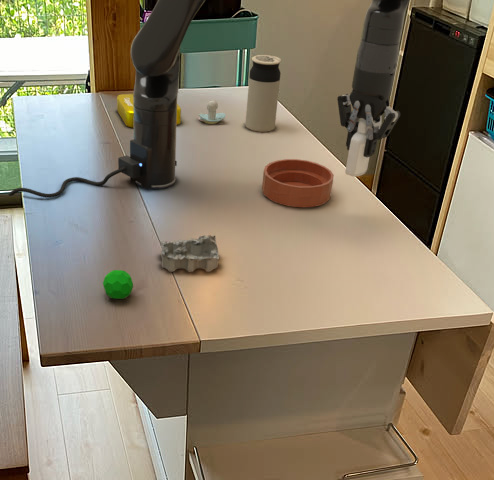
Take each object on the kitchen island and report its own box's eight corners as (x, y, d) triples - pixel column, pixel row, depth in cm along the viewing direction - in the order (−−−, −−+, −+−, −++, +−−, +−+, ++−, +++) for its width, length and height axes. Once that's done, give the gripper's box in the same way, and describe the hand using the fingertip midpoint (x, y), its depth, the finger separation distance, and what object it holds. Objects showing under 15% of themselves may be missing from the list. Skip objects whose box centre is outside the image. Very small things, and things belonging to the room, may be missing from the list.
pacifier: (194, 118, 195) (200, 125, 190) (195, 95, 192) (201, 102, 187) (220, 117, 197) (226, 124, 192) (221, 94, 193) (228, 101, 189)
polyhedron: (123, 285, 123) (122, 261, 121) (138, 298, 120) (138, 274, 118) (98, 294, 121) (97, 270, 118) (113, 307, 118) (112, 283, 115)
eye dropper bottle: (373, 175, 144) (385, 117, 138) (349, 178, 143) (359, 119, 136) (362, 167, 148) (373, 110, 141) (338, 169, 146) (348, 112, 139)
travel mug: (250, 133, 188) (257, 63, 177) (241, 122, 194) (246, 54, 184) (278, 131, 190) (286, 62, 179) (268, 121, 196) (275, 54, 186)
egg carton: (216, 253, 134) (218, 234, 132) (218, 274, 128) (220, 254, 126) (160, 251, 134) (160, 232, 131) (159, 272, 128) (160, 252, 125)
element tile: (115, 109, 197) (115, 92, 195) (168, 107, 201) (168, 90, 199) (127, 128, 186) (127, 110, 183) (182, 125, 190) (183, 107, 187)
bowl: (299, 215, 149) (302, 193, 147) (247, 190, 158) (249, 169, 155) (344, 196, 158) (347, 175, 155) (292, 174, 167) (295, 153, 164)
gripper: (333, 59, 135) (320, 146, 145) (395, 78, 127) (377, 169, 137) (357, 53, 139) (343, 138, 149) (419, 71, 131) (399, 160, 141)
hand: (359, 152), depth 143 cm, fingers closed on eye dropper bottle, 3 cm apart
